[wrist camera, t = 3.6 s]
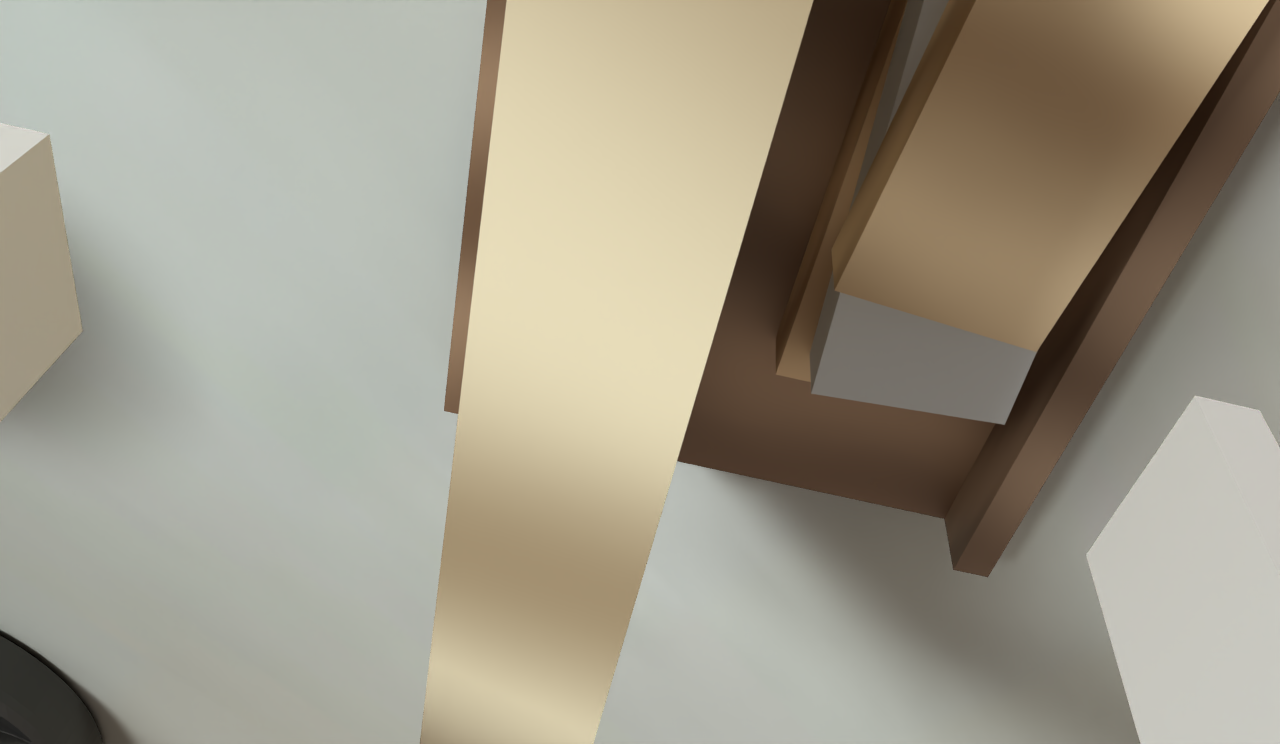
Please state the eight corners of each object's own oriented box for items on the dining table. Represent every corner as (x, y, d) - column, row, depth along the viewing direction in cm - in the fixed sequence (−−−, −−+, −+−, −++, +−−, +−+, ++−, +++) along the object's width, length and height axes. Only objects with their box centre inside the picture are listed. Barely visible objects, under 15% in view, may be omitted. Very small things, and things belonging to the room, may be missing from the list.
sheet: (638, 339, 29) (529, 959, 16) (565, 323, 29) (397, 933, 16) (846, -520, 18) (1024, -714, 5) (728, -549, 18) (602, -824, 5)
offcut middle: (994, 383, 26) (1004, 424, 25) (809, 353, 26) (811, 393, 25) (1213, -139, 19) (1244, -117, 18) (958, -180, 19) (970, -161, 18)
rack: (969, 490, 33) (987, 576, 30) (455, 379, 32) (425, 456, 29) (1600, -669, 17) (1762, -714, 14) (603, -934, 16) (568, -1035, 13)
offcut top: (1022, 308, 23) (1036, 351, 22) (831, 249, 23) (834, 290, 21) (1290, -117, 18) (1330, -92, 16) (1044, -205, 17) (1066, -185, 16)
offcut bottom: (959, 378, 28) (967, 416, 27) (775, 337, 28) (775, 374, 27) (1303, -326, 19) (1342, -318, 17) (1026, -395, 18) (1045, -392, 17)
